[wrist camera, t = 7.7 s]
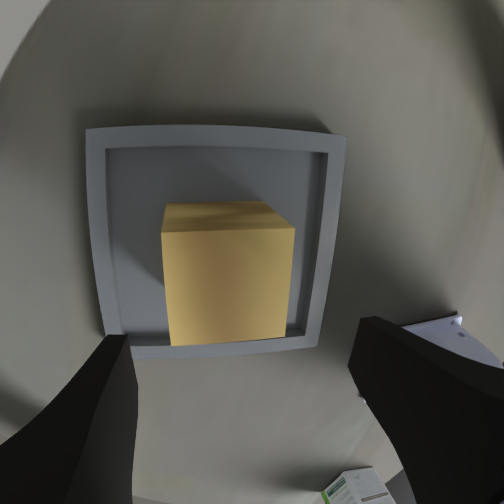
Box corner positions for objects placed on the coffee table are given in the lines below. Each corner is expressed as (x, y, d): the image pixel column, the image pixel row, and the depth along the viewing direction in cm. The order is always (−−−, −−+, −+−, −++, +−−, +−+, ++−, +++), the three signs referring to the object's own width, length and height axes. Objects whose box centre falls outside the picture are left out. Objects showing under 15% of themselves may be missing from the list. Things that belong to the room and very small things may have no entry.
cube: (263, 201, 17) (295, 228, 12) (258, 286, 19) (284, 336, 14) (166, 203, 16) (161, 232, 11) (171, 291, 18) (171, 346, 13)
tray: (334, 135, 17) (346, 136, 16) (309, 333, 21) (317, 346, 20) (93, 129, 14) (85, 129, 13) (114, 344, 19) (111, 359, 17)
